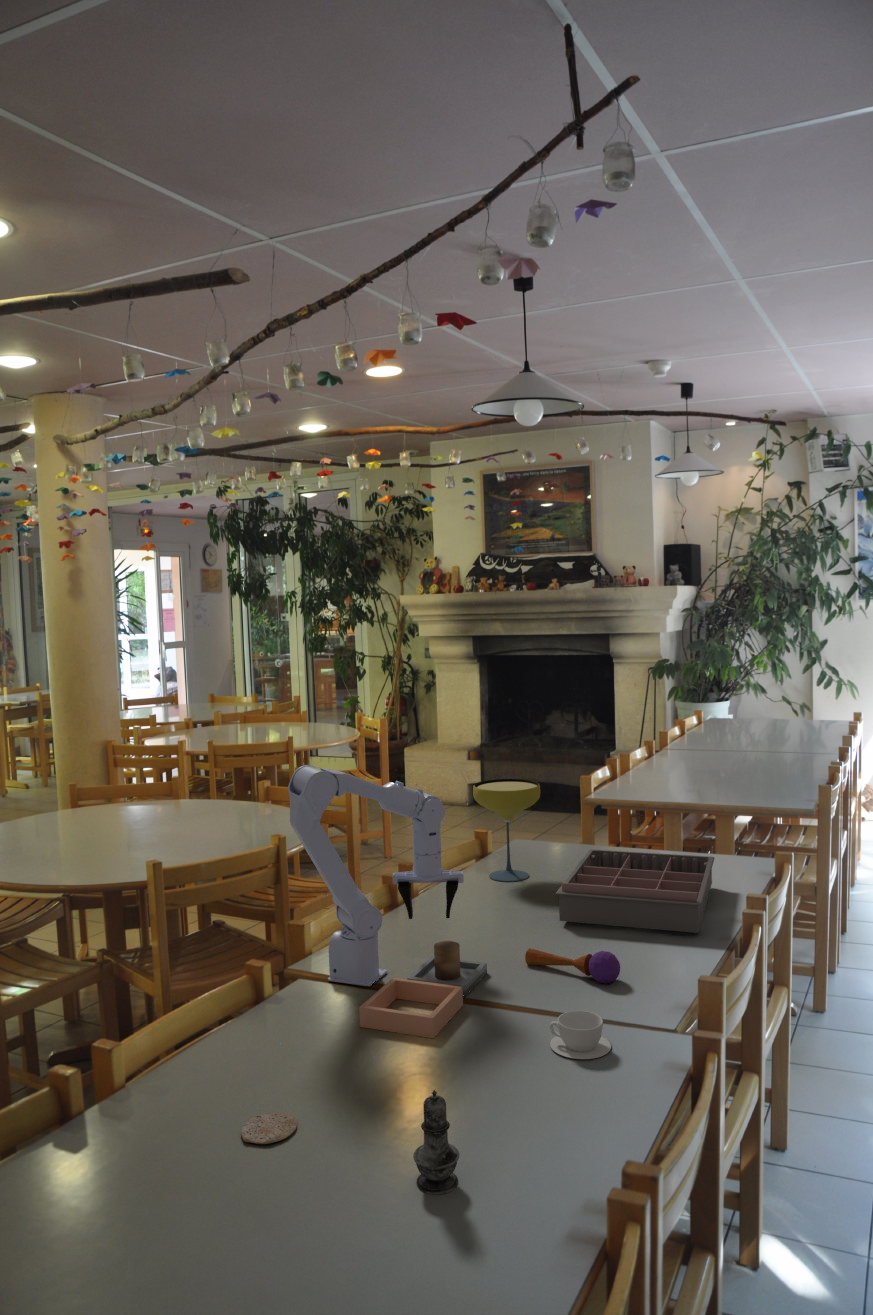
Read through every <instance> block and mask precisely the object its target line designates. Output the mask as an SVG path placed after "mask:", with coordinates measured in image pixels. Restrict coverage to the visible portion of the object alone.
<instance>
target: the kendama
mask: <svg viewBox="0 0 873 1315" xmlns="http://www.w3.org/2000/svg"><path fill="white" fill-rule="evenodd" d="M524 955H525V956H524V957H525V958H524V959H525V963H526V965H528V966H555V967H556V966H560V967H561V966H564V967H566V966H570V967H572V966H573V967H574V968H575V969H577V970H578V971H579V972H581V973H582V974H584V975H585V976H587V977H590V976H591V977H592V979H593V980H594V981H596V982H597V983H601V984H606V985H607V984H610V983H613V982H614V981H616V980H617V979H618V977H619V976H620V973H621V962H620V961H619V959H618V958H617V956H616V954H614V953H612V952H610V951H606V950H600V951H597V952H595V953H594V954H593V953H592V954H591V953H587V954H585V955H582V956H580V957H578V958H575V959H571V958H568V957H563V956H560V955H558V954H553V953H549V952H546V951H542V950H538V949H534V948H532V947H531V948H530V947H529V948H528V949H527V950H526V951H525V954H524Z"/></svg>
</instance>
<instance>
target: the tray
mask: <svg viewBox="0 0 873 1315" xmlns="http://www.w3.org/2000/svg"><path fill="white" fill-rule="evenodd" d="M487 973H488V964H487V962H483V961H482V962H480V961H472V960H465V959H460V977H459V978H457V979H455V980H439V979H437V978H436V977H435V963H434V956H433V955H432V956H430V957H428V959H426V961H424V962H423V963H422V964H421V965H420V966H419V967H418V968H416V969H415V971H413V972H412V973H411V974H410V975H409V976H407V978H406V979H407V980H415V981H423V982H430V983H438V984H445V985H453V986H460V987H462V989H463V995H464V996H463V997H467V996H468V995H469V993H470V992H471V991H472V990H473V989H474V988H475V987H476V986H477V985H478V983H480V981H481V980H482V979H483V978H484V977H485V976H486V975H487ZM485 974H486V975H485ZM484 975H485V976H484ZM483 976H484V977H483ZM482 977H483V978H482ZM481 978H482V979H481ZM480 979H481V980H480ZM477 982H478V983H477ZM475 985H476V986H475ZM474 986H475V987H474ZM473 987H474V988H473ZM472 988H473V989H472ZM471 989H472V990H471ZM470 990H471V991H470ZM469 991H470V992H469Z"/></svg>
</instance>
